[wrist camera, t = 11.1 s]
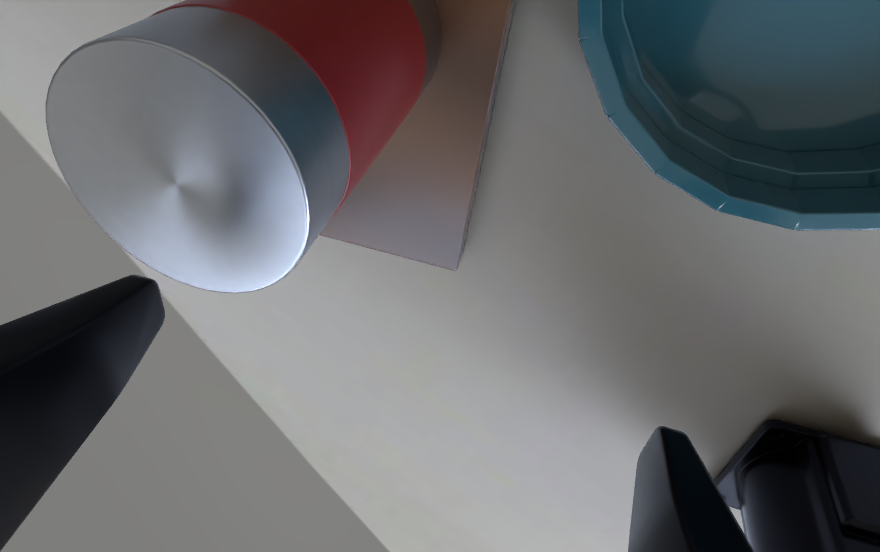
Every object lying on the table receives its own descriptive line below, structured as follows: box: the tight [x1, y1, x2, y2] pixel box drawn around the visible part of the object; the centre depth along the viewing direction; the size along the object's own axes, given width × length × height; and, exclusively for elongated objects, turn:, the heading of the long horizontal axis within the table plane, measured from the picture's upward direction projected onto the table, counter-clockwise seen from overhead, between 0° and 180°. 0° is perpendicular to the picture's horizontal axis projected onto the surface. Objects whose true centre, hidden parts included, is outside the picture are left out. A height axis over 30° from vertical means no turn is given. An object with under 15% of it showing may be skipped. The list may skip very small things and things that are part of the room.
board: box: [319, 0, 516, 271], centre depth 19 cm, size 17×9×1 cm, turn 172°
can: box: [46, 0, 442, 293], centre depth 14 cm, size 5×5×10 cm
